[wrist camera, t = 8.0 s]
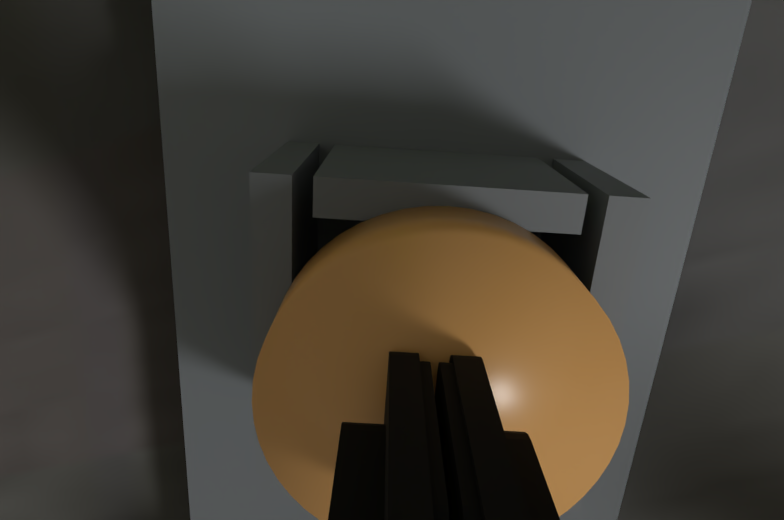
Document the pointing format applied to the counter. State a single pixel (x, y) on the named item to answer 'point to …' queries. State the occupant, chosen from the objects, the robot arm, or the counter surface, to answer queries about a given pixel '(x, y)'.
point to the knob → (439, 345)
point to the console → (423, 171)
